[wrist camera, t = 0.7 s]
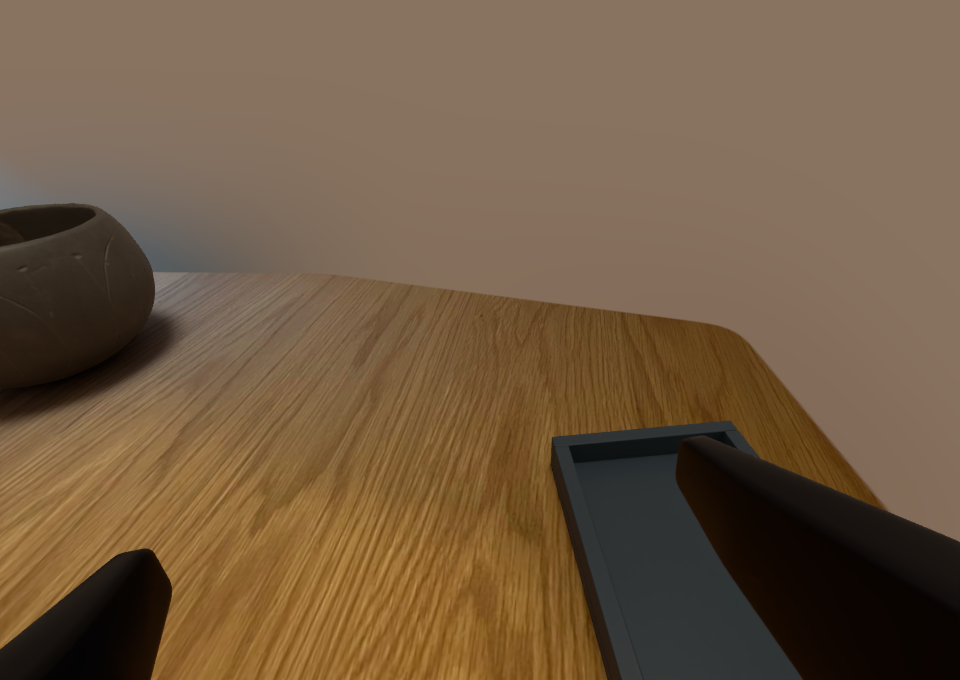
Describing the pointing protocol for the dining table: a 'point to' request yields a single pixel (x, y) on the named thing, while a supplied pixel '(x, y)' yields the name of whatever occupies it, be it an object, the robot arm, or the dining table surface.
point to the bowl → (67, 291)
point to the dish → (657, 562)
